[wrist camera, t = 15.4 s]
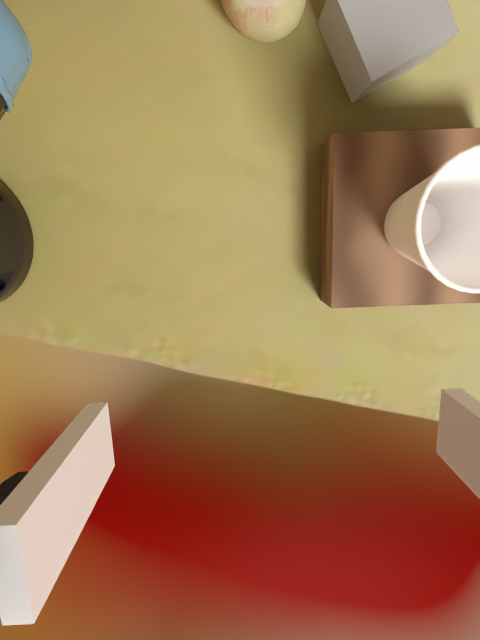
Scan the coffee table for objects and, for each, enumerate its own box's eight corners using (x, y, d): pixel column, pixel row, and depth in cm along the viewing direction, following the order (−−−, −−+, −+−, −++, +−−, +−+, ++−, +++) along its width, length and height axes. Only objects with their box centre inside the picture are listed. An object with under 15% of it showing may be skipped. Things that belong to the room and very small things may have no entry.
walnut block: (320, 299, 44) (331, 308, 39) (321, 144, 40) (334, 132, 35) (464, 294, 44) (493, 302, 39) (477, 139, 40) (511, 126, 35)
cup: (444, 288, 38) (526, 309, 28) (348, 261, 38) (394, 272, 27) (483, 185, 36) (588, 165, 26) (383, 155, 36) (447, 121, 25)
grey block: (351, 104, 40) (372, 81, 34) (316, 24, 38) (331, -15, 32) (424, 62, 39) (458, 31, 33) (392, -22, 37) (421, -69, 31)
